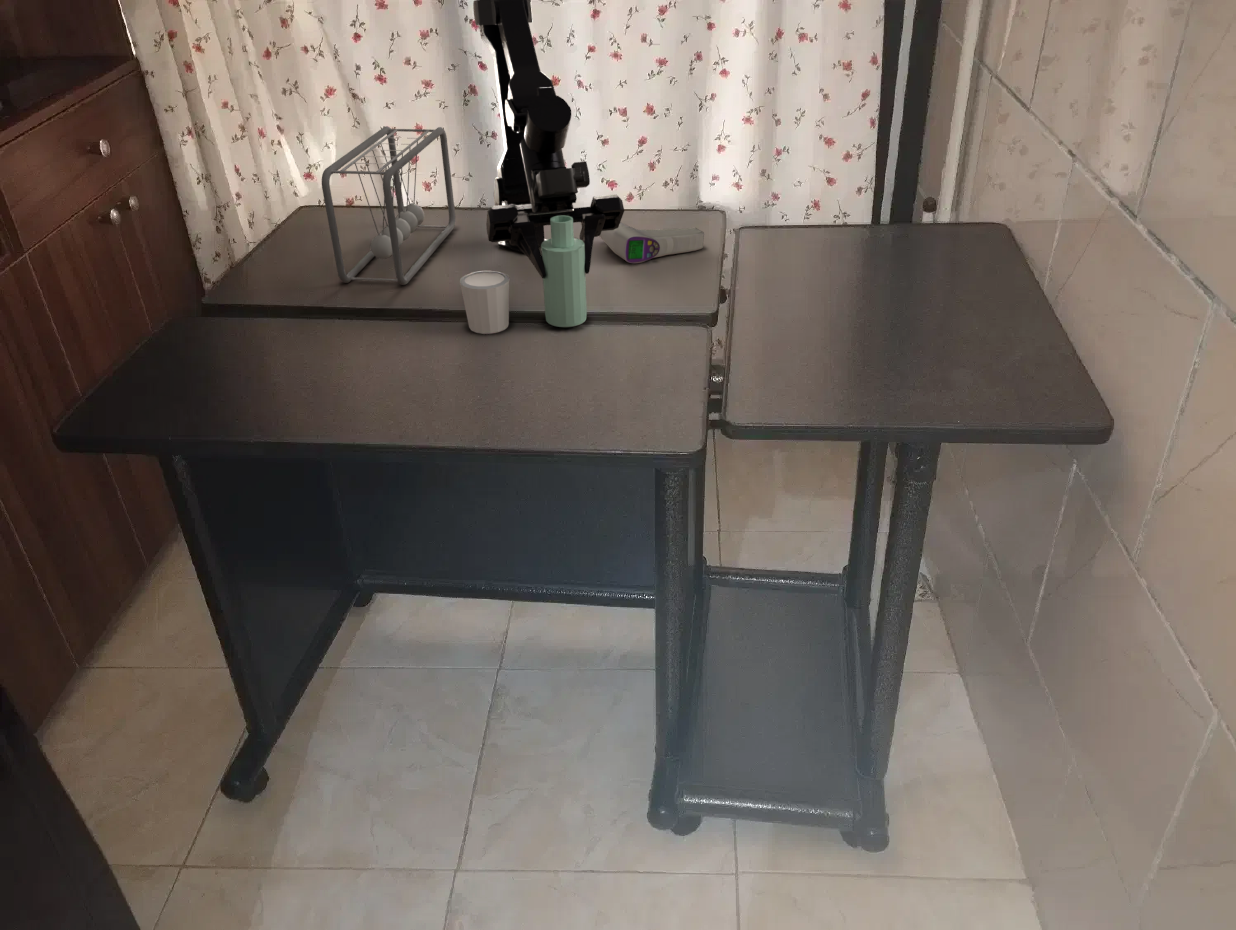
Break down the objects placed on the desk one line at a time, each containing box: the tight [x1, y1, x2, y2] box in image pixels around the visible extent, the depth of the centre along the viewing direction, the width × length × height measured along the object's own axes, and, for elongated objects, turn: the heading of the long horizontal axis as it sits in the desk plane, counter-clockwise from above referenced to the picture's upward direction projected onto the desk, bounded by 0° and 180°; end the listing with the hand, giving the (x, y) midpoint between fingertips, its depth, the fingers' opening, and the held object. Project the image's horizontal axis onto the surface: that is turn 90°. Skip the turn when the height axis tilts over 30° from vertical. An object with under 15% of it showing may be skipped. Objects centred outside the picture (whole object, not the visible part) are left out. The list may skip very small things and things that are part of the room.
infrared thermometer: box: [598, 221, 705, 264], centre depth 161 cm, size 5×12×15 cm
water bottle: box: [540, 215, 588, 328], centre depth 132 cm, size 6×6×14 cm
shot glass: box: [459, 270, 510, 335], centre depth 134 cm, size 7×7×7 cm
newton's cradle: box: [321, 125, 456, 286], centre depth 156 cm, size 30×10×18 cm, turn 172°
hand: (565, 275), depth 131 cm, fingers closed on water bottle, 6 cm apart
